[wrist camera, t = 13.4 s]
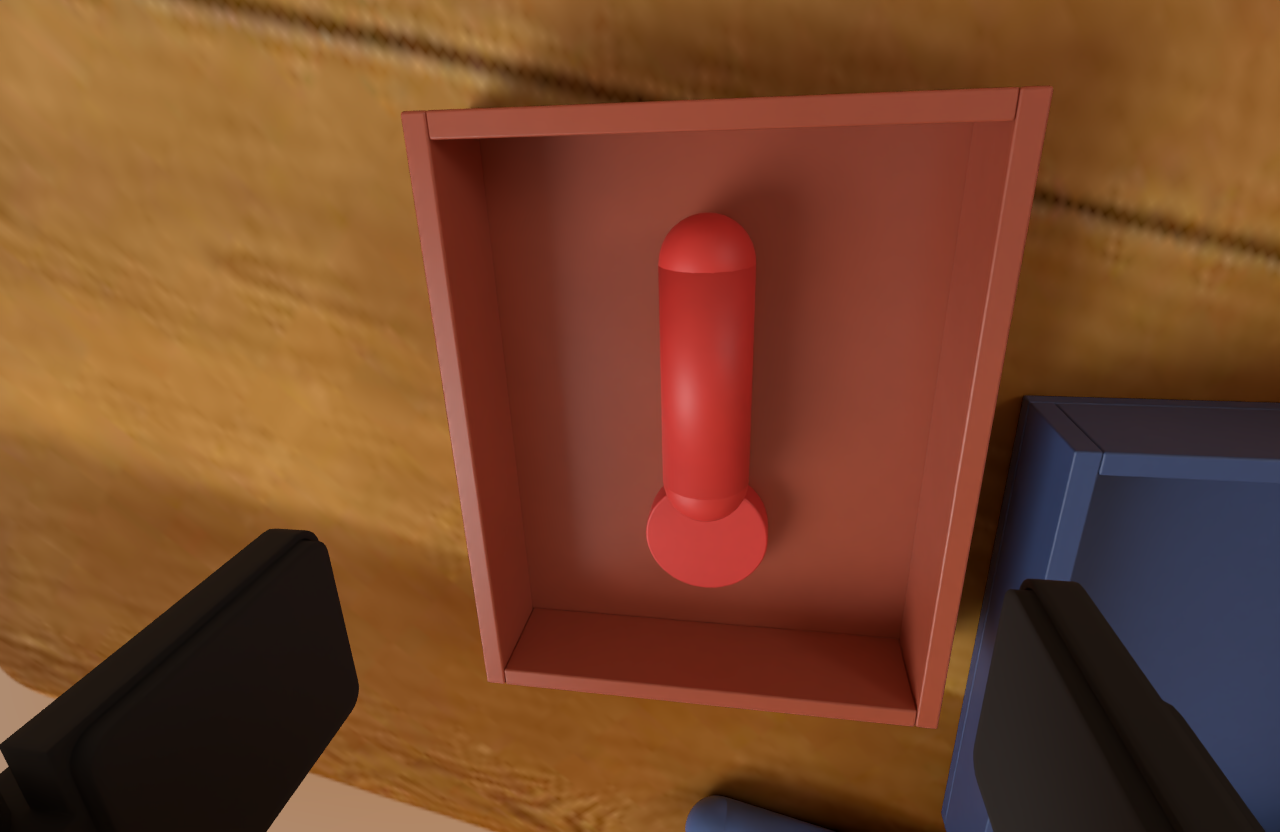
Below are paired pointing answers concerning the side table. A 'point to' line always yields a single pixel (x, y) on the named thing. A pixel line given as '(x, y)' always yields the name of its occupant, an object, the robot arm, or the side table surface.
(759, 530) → the red spoon
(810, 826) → the blue spoon
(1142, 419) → the blue bin
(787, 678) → the red bin
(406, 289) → the side table surface
